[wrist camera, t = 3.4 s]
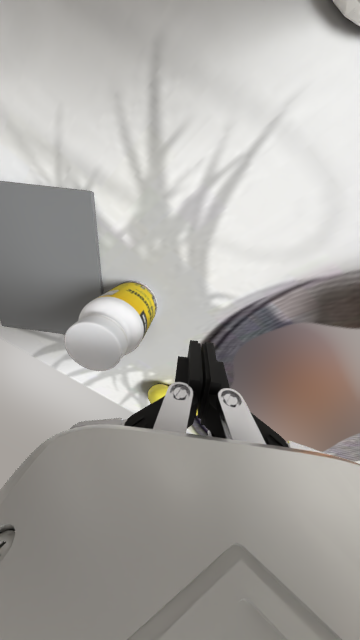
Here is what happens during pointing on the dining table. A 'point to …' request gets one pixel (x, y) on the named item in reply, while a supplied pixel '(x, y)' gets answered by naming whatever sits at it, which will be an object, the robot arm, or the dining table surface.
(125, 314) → the supplement bottle
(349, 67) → the dining table surface
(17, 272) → the charcoal mat
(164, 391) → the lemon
